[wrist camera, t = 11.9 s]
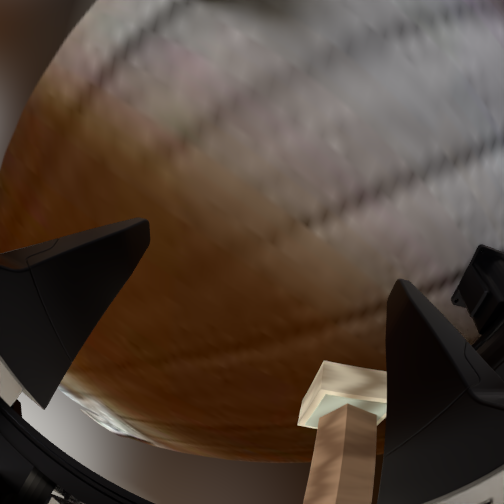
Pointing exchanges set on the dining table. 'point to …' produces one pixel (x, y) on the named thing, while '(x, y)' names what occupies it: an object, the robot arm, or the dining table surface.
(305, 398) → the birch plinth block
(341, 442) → the tan wooden block
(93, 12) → the dining table surface
